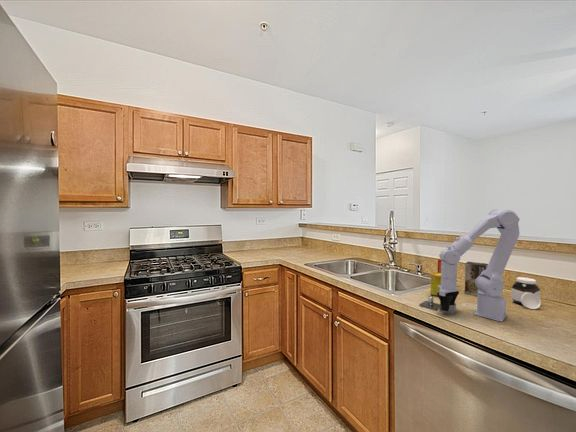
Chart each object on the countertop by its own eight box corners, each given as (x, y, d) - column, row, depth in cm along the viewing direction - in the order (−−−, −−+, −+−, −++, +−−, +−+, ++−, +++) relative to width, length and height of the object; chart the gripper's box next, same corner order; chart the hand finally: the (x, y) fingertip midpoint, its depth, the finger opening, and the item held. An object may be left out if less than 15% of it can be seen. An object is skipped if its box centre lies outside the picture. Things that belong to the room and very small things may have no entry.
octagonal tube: (457, 312, 114) (457, 303, 114) (452, 315, 111) (452, 306, 110) (443, 308, 118) (443, 299, 118) (438, 311, 115) (438, 302, 115)
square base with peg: (441, 306, 121) (442, 297, 121) (435, 310, 116) (436, 300, 116) (425, 302, 126) (425, 293, 126) (419, 305, 121) (419, 296, 121)
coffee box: (487, 294, 137) (488, 263, 137) (485, 297, 133) (486, 265, 132) (466, 290, 143) (467, 261, 143) (464, 293, 139) (465, 262, 138)
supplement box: (432, 292, 140) (433, 272, 140) (445, 295, 136) (446, 274, 136) (430, 295, 135) (430, 274, 135) (443, 298, 132) (444, 276, 131)
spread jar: (525, 300, 130) (526, 276, 129) (552, 309, 118) (553, 283, 118) (504, 301, 127) (505, 277, 127) (529, 310, 116) (530, 284, 116)
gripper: (444, 272, 122) (443, 302, 122) (431, 278, 112) (431, 310, 113) (462, 275, 116) (461, 306, 117) (450, 282, 107) (449, 315, 107)
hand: (447, 308), depth 114 cm, fingers closed on octagonal tube, 5 cm apart
